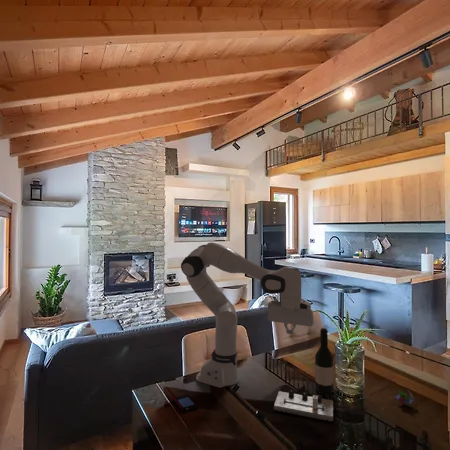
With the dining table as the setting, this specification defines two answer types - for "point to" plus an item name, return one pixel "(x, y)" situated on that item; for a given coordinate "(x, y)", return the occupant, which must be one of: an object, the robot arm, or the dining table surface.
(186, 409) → the handheld game console
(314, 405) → the fader
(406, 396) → the geometric puzzle
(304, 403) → the console
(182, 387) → the dining table surface
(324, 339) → the wine bottle
